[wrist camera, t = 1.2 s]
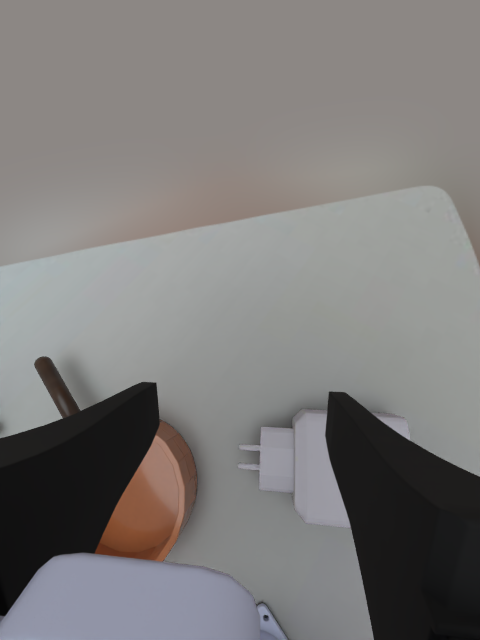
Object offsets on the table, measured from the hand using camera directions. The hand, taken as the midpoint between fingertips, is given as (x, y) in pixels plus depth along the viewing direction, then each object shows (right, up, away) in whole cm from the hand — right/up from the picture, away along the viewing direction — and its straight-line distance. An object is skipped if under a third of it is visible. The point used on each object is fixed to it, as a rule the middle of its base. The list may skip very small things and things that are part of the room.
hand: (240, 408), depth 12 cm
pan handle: (-18, -5, +19) cm, 26 cm away
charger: (+8, -10, +18) cm, 22 cm away
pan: (-11, -14, +19) cm, 26 cm away
